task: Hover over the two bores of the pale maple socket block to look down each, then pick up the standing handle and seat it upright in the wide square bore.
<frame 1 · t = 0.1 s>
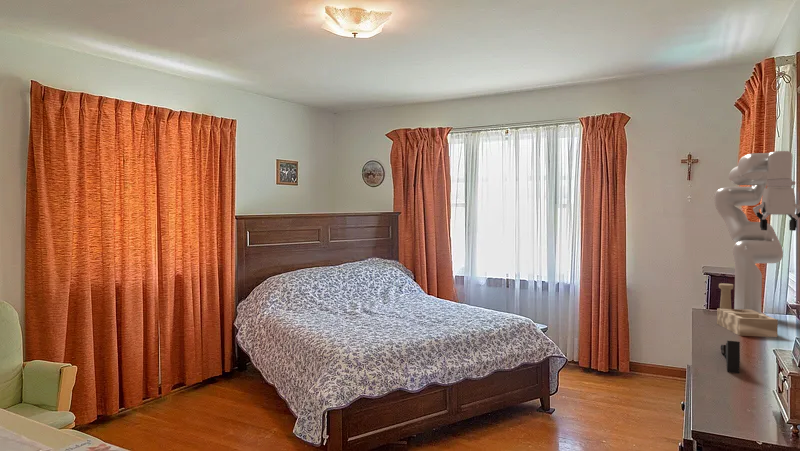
hand: (778, 230, 204), 37 cm above the dresser, tool pointing down, fingers open, 9 cm apart
handle: (725, 322, 214), on the dresser
socket block: (745, 330, 200), on the dresser
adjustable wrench: (728, 363, 158), on the dresser
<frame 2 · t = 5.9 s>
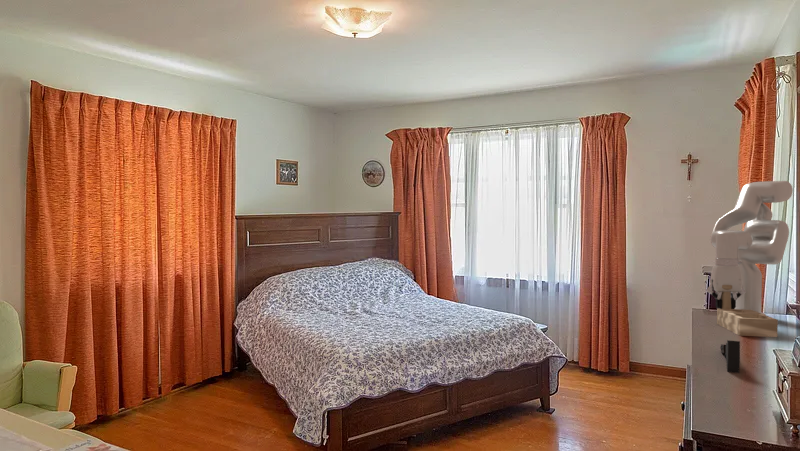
hand: (725, 308, 214), 5 cm above the dresser, tool pointing down, fingers closed on handle, 3 cm apart
handle: (725, 322, 214), on the dresser, touching gripper
everything else where it was.
when the fingers open (7 cm above the dresser, at t = 11.4 s): handle drops 1 cm, resting on socket block.
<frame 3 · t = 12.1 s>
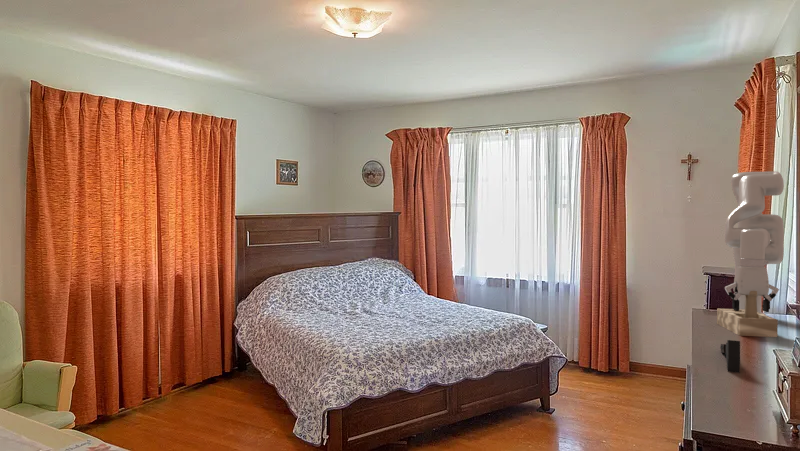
hand: (750, 310, 196), 8 cm above the dresser, tool pointing down, fingers open, 9 cm apart
handle: (750, 332, 196), resting on socket block
everything else where it was.
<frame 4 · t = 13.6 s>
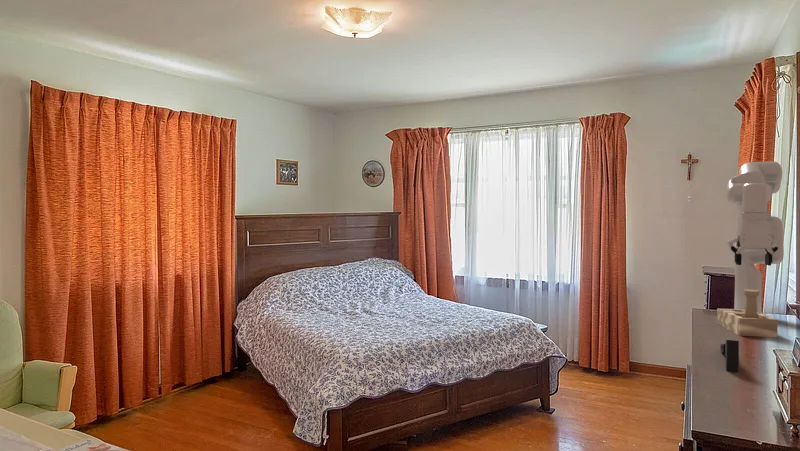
hand: (753, 264, 196), 24 cm above the dresser, tool pointing down, fingers open, 9 cm apart
nothing on the dresser moved.
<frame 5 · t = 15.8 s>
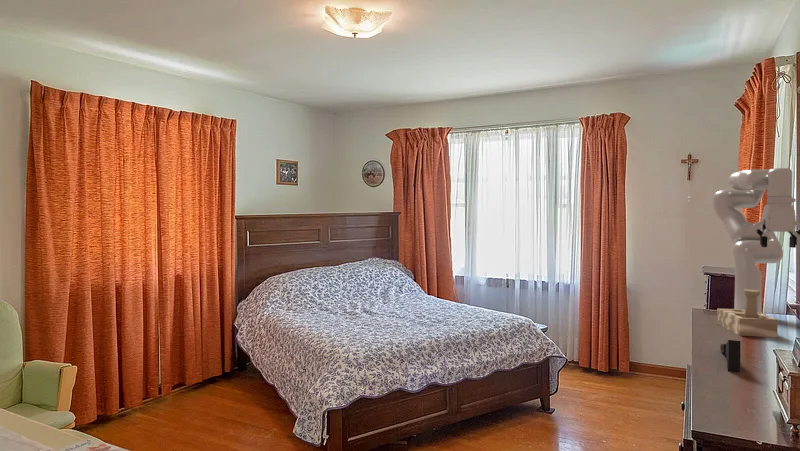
hand: (778, 247, 204), 30 cm above the dresser, tool pointing down, fingers open, 9 cm apart
at the end: handle 0.2 cm from the target spot on the socket block, point 0.0 cm above the socket block's base; handle tilted 0°; the gripper is holding nothing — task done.
